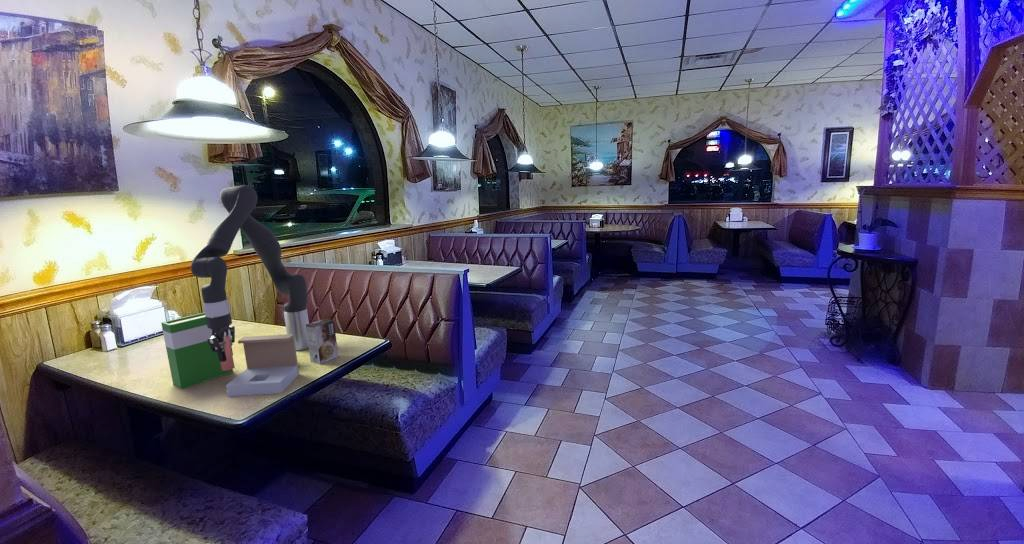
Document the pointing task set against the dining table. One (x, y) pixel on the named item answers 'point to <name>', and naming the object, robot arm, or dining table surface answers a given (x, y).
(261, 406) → the dining table surface
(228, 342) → the peg
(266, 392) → the socket
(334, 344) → the coffee box
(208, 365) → the hardback book
